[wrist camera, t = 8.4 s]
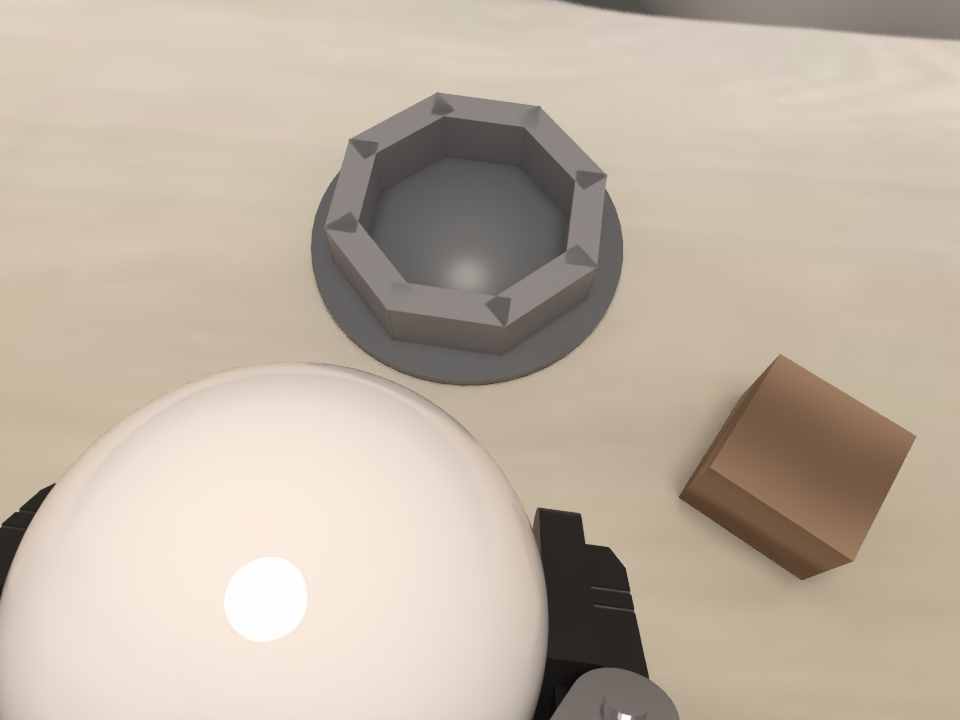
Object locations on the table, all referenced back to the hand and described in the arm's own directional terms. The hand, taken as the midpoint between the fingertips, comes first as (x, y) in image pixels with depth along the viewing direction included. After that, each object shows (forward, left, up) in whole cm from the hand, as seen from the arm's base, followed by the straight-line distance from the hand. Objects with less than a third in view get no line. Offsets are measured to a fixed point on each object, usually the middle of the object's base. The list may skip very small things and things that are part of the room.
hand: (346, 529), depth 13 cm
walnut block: (+14, -4, -14) cm, 20 cm away
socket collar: (+11, +11, -14) cm, 21 cm away
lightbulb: (-1, -1, -5) cm, 5 cm away
